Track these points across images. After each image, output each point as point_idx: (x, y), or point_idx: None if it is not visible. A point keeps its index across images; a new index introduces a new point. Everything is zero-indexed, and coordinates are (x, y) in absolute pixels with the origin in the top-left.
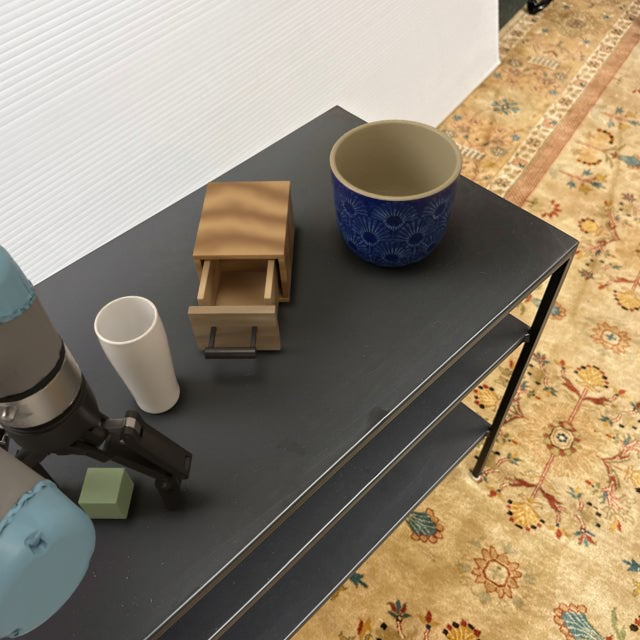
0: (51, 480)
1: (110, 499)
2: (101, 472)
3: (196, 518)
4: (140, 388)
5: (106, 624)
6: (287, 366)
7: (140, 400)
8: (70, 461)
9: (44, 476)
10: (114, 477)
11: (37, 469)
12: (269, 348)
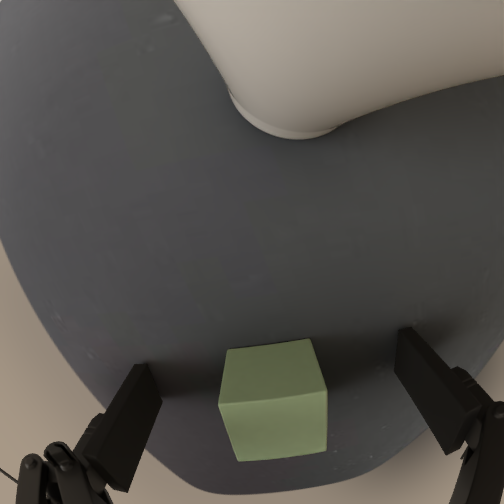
0: (135, 393)
1: (311, 449)
2: (264, 411)
3: None
4: (354, 110)
5: (319, 481)
6: None
7: (289, 126)
8: (135, 304)
9: (126, 423)
10: (306, 414)
11: (112, 452)
12: None
